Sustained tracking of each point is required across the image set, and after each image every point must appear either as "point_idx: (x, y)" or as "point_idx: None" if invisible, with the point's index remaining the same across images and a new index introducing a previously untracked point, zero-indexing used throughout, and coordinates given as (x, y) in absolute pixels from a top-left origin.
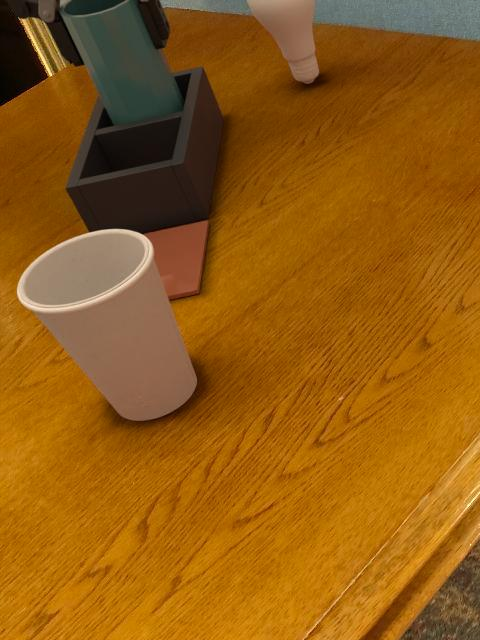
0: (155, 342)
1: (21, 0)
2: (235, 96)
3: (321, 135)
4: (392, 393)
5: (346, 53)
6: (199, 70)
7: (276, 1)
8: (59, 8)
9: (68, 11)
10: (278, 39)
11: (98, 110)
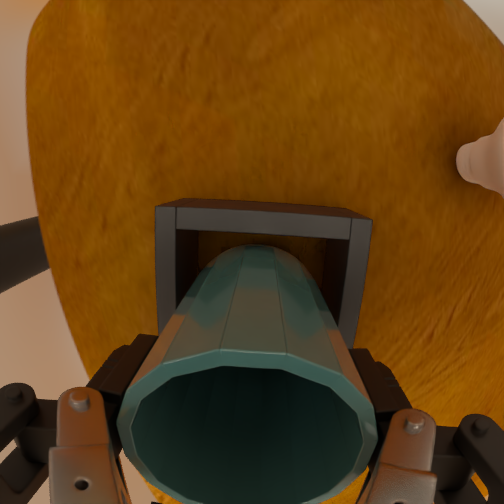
0: None
1: (43, 478)
2: (363, 133)
3: (451, 326)
4: None
5: (500, 105)
6: (366, 240)
7: None
8: (112, 425)
9: (137, 419)
10: (493, 185)
11: (168, 309)
